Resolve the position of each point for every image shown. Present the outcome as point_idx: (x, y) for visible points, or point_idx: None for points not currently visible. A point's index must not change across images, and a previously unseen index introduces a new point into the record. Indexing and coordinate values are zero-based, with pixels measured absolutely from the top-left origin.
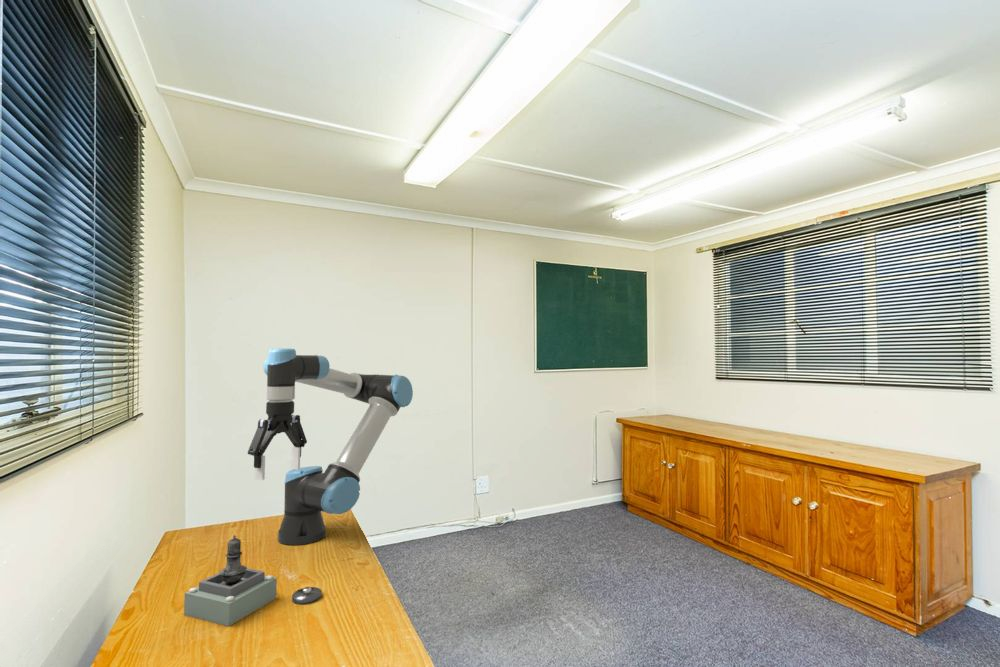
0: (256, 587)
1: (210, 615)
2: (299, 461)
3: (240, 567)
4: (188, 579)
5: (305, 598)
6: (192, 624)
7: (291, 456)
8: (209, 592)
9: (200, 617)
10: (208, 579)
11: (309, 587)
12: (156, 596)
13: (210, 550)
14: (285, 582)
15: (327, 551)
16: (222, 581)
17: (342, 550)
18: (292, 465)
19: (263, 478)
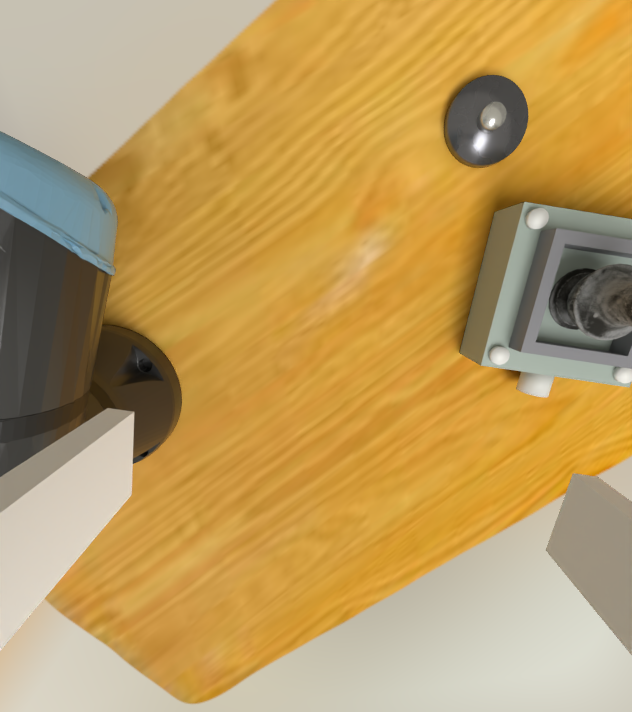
0: (591, 219)
1: None
2: (55, 449)
3: (621, 279)
4: (428, 488)
5: (516, 106)
6: None
7: (32, 607)
8: None
9: None
10: (617, 357)
11: (485, 112)
12: (513, 489)
13: (270, 557)
14: (406, 246)
15: (185, 251)
16: (559, 342)
17: (163, 206)
18: (110, 501)
19: (592, 481)
